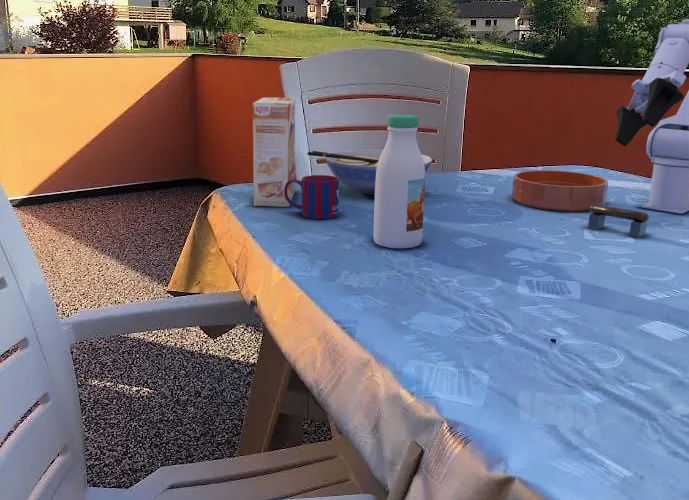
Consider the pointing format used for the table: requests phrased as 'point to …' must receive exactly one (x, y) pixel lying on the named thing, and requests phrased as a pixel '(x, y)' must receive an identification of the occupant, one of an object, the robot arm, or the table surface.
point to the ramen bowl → (357, 167)
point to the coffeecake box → (273, 150)
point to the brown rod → (619, 213)
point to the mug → (317, 196)
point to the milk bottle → (400, 186)
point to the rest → (635, 230)
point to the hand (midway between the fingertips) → (634, 133)
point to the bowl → (559, 190)
